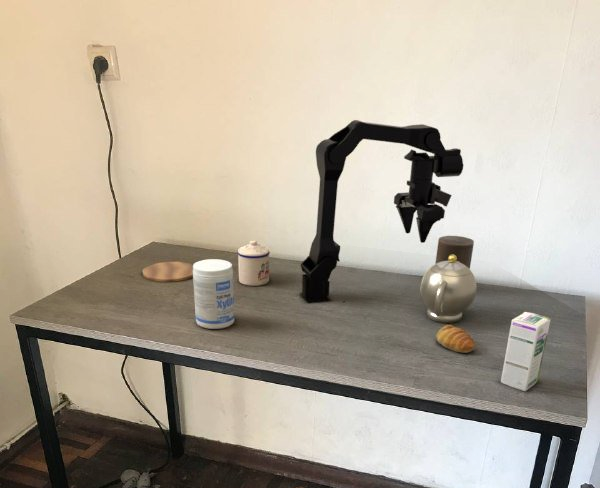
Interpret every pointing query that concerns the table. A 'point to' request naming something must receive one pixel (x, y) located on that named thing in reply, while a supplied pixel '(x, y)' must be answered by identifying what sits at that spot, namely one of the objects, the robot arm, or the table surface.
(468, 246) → the pillar candle
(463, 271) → the teapot
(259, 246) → the teacup with lid
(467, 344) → the pastry
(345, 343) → the table surface
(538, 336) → the syrup box
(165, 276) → the wooden trivet
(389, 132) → the robot arm
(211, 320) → the supplement tub
